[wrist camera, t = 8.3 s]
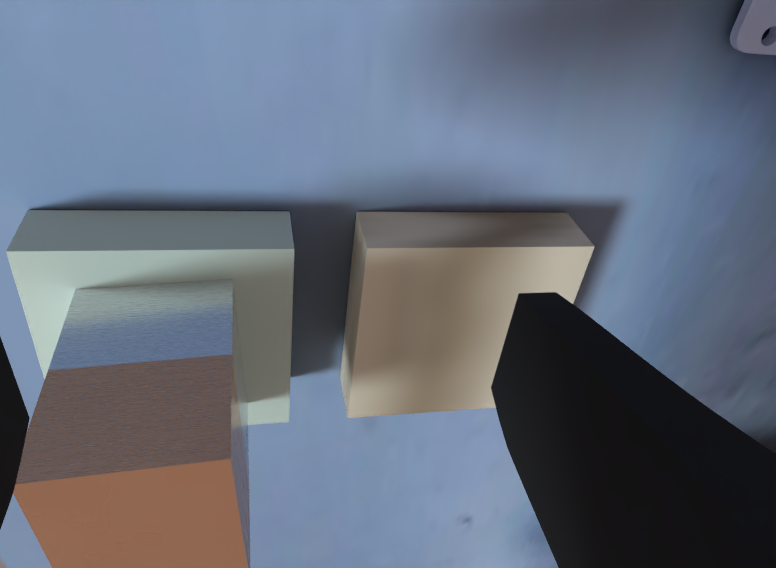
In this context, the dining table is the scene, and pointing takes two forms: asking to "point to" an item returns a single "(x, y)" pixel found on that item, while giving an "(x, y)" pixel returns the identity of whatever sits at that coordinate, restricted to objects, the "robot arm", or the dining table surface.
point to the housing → (142, 432)
